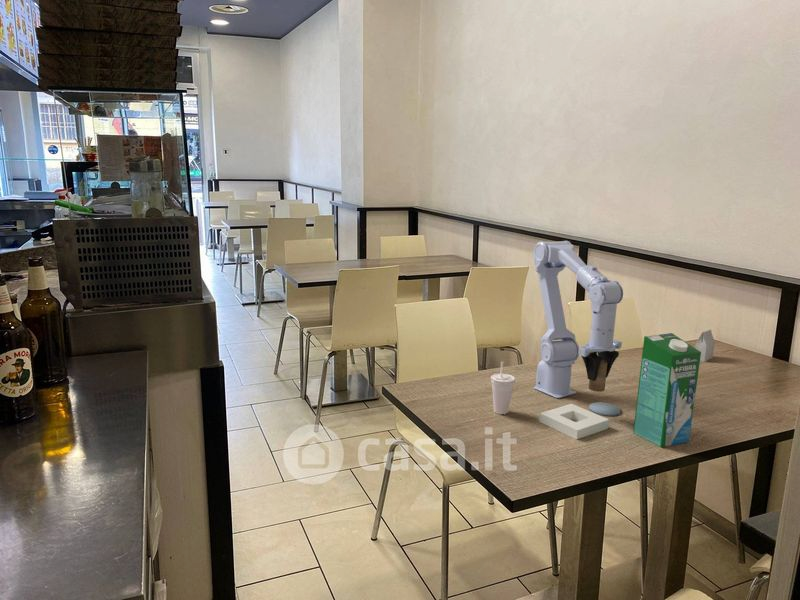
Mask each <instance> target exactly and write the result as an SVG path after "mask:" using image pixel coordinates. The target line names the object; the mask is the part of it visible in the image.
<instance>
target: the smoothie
mask: <svg viewBox="0 0 800 600" xmlns="http://www.w3.org/2000/svg"><path fill="white" fill-rule="evenodd" d="M503 370H504V361H500V371H499V372H500V373H494V374H492V375H491V376H490V381H491V386H492V387H491V389H492V390H491V391H492V401H493V413H495V412H496V413H498V414H497V415H501V414H504V415H507V414H508V413H509V409H510V404H511V399H512V394H513V389H514V384H515V383H516V378H515V377H514V376H513V375H511V374H508V373H504V371H503ZM496 413H495V414H496ZM506 413H507V414H506Z"/></svg>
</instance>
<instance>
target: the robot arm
mask: <svg viewBox="0 0 800 600" xmlns="http://www.w3.org/2000/svg"><path fill="white" fill-rule="evenodd" d="M532 255H533V256H532V257H533V262H534V266H535V271H536V273H537V275H538V281H539V287H540V291H541V292H540V294H541V298H542V305H543V310H544V311H543V312H544V317H545V322H546V323H545V324H546V327H547V328H546V329H547V331H546V333H544V334H543V336H542V337H541V338H540V356H541V360H540V361H539V363H538V364H537V367H536V378H535V379H536V380H535V386H533V389H534V390H536V391H539V392H541V393H544V394H547V395H549V396H550V397H554V398H555V399H562V398H564V397H568V396H572V395H575V394H577V391H576V390H573V389H571V380H572V379H571V378H572V368H573V367H572V366H573V365H574V364H575V361H576V360H578V359H579V357H581V358H582V361H583V363H584V366H585V369H586V376H587V379H588V380H589V379H590V380H592V381H596V378H597V374H598V369H599V366H600V363H601V361H602V360H604V361H607V372H606V379H607V378H608V377H609V374H610V372H611V369H612V366H613V365H614V363H615V361H616V360H617V358H618V357H619V355H620V352H619V351H617V350H621V349H622V344H623V343H622V341H621V340H618V339H614V336H615V335H614V334H615V325H616V316H617V315H616V314H617V306H618V304H620V303H621V301H622V300H623V297H624V289H623V287H622V285H621V284H620V281H618V280H609V279H608V277H607V276H605V275H604V274H602V273H601V272H600V271H599V270H598V267H597V266H596V265H591V264H588V265H587V264H586V263H585V262H584V261H583V260H582V258H581V257H580V256H579V255H578V254H577V253H576V252H575V246H574V245H573V244H572V243H571V242H570V240H569V241H568V240H564V241H563V240H562V241H560V240H559V241H538V242H537V244H535V247H534V249H533V252H532ZM566 267H567V268H568V269H569V270H570V271H572V272H573V273H574V274H575V275H576V277H575V278H576V281H577V282H578V284H580V286H581V287H582V288H583V289H584V290H585V291H587V292H588V297H589V298H588V299H589V301H590V308H591V311H592V312H591V322H590V323H591V324H590V331H589V332H590V334H589V341H588V343H586V344H585V345H583V346H580V345H579V343H578V341H577V340H576V339H577V338H576V335H575V333H573V332H572V331H570V330H569V329H568V328H567V325H566V324H567V323H566V318H565V313H564V312H565V311H564V308H563V303H562V302H563V301H562V297H561V296H562V295H561V290H560V284H559V279H558V275H559V273H560V272H562V271H563V270H564V269H565V268H566ZM616 349H617V350H616Z"/></svg>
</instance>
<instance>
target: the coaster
mask: <svg viewBox="0 0 800 600" xmlns="http://www.w3.org/2000/svg"><path fill="white" fill-rule="evenodd" d="M588 409H589V411H590V412H593V413H595V414H597V415H600V416H602V417H604V416H605V417H615V416H618V415H620V414H621V408H620V407H619V406H617V405H615V404H612V403H608V402H601V401H600V402H599V401H598V402H591V403H590V404H589V407H588Z"/></svg>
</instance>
